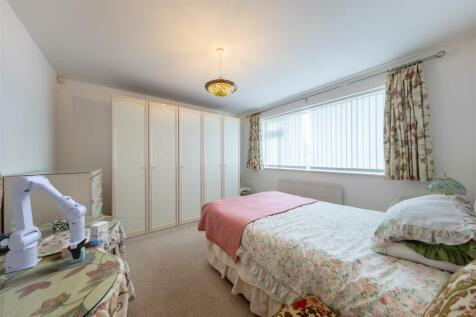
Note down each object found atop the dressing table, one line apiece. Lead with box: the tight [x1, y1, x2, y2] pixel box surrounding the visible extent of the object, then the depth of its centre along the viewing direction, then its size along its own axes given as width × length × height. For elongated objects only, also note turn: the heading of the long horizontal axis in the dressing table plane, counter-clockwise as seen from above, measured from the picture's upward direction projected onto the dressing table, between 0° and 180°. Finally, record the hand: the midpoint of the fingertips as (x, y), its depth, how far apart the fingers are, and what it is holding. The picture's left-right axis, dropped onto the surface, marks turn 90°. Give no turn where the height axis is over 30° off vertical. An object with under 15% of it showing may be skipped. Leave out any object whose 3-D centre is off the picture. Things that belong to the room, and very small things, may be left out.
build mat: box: [57, 251, 96, 272], centre depth 90 cm, size 12×12×1 cm
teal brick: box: [70, 246, 86, 263], centre depth 90 cm, size 4×4×5 cm
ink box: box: [89, 220, 109, 246], centre depth 110 cm, size 9×5×12 cm, turn 179°
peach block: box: [61, 243, 71, 259], centre depth 96 cm, size 4×4×5 cm
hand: (78, 256), depth 90 cm, fingers closed on teal brick, 4 cm apart
